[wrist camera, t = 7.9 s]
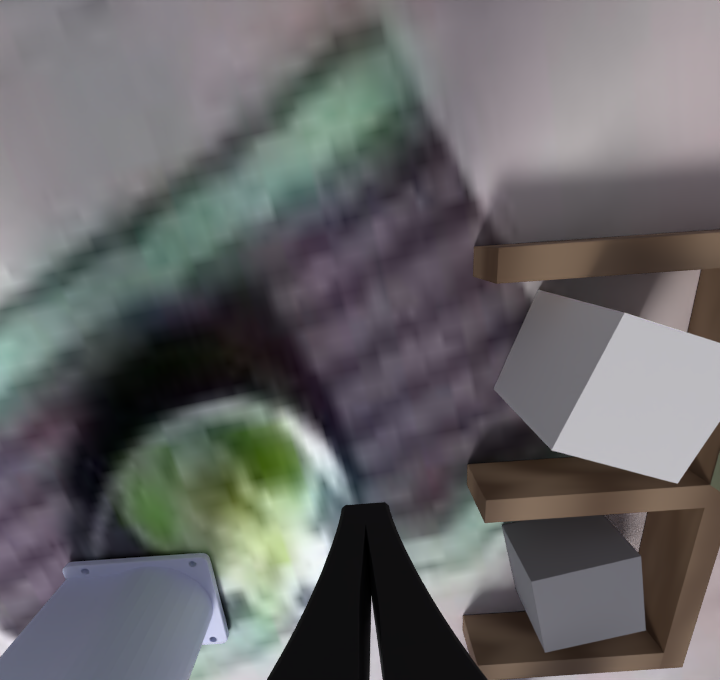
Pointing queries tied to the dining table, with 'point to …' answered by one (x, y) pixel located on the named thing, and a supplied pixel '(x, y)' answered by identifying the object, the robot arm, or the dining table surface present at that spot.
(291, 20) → the dining table surface
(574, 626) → the charcoal block
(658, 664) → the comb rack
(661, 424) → the plain light grey cube
